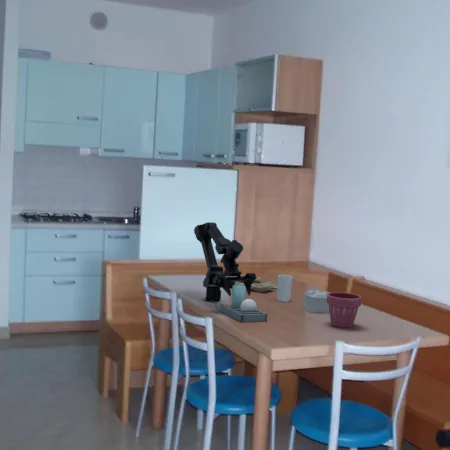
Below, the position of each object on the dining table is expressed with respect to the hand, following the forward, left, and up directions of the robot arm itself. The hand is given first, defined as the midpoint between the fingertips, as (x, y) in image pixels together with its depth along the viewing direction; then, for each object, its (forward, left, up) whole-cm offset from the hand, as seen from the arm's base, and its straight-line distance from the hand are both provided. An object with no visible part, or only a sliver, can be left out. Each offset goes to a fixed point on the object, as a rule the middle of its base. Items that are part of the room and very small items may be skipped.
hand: (239, 295), depth 301 cm
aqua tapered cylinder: (-1, +1, -8) cm, 8 cm away
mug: (+23, +35, -8) cm, 43 cm away
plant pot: (+42, -11, -8) cm, 45 cm away
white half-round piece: (+4, -5, -8) cm, 10 cm away
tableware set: (+13, +67, -9) cm, 69 cm away
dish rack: (+1, -3, -8) cm, 9 cm away
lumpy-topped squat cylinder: (+36, +17, -8) cm, 41 cm away
